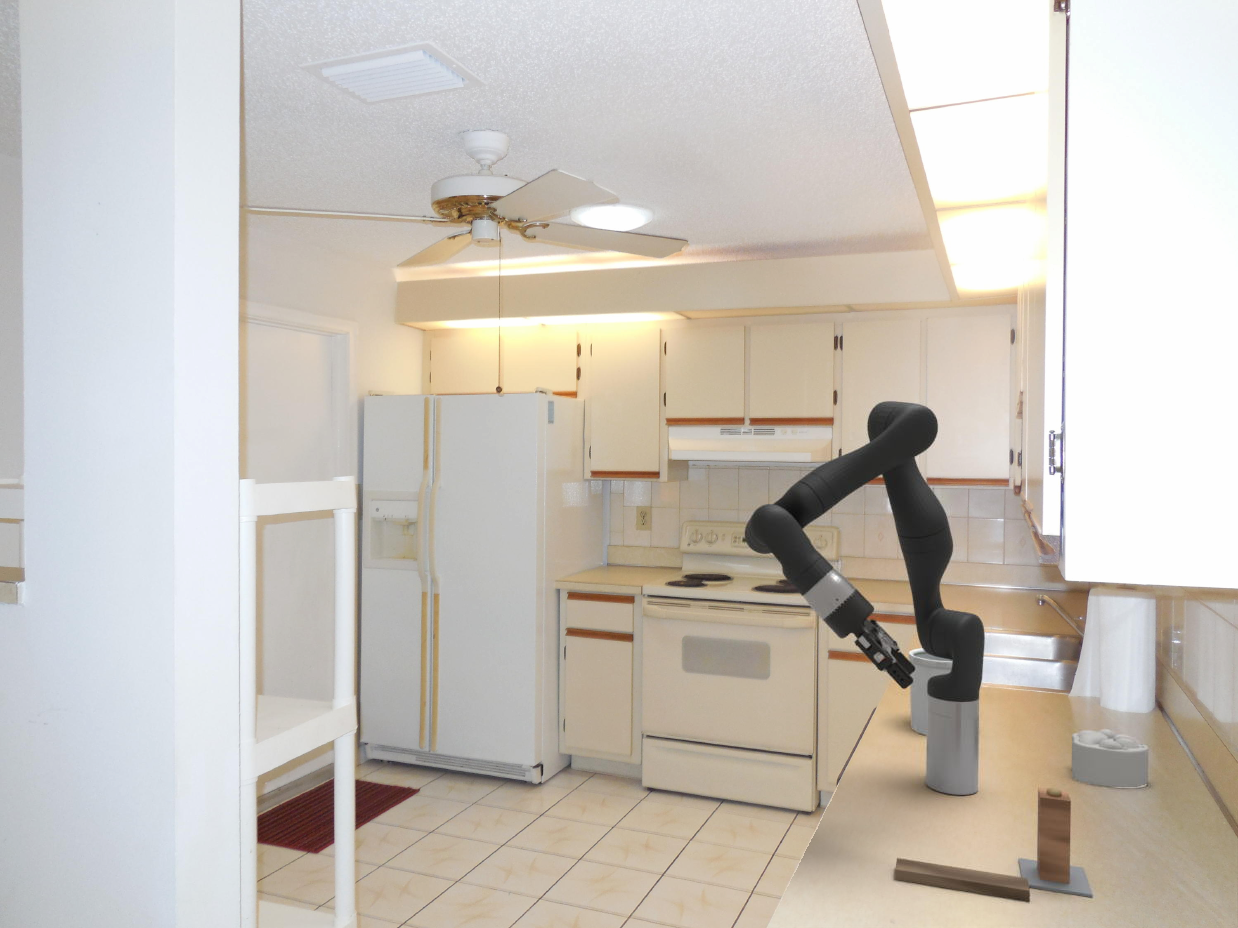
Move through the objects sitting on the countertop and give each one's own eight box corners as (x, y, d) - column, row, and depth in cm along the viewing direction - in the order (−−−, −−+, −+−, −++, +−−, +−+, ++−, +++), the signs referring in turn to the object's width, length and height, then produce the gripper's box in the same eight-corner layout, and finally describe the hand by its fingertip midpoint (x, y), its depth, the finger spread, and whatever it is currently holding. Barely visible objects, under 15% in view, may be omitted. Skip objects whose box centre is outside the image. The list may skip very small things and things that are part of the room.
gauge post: (1037, 866, 135) (1038, 783, 135) (1066, 871, 134) (1067, 787, 134) (1039, 878, 131) (1040, 792, 131) (1069, 883, 130) (1070, 796, 130)
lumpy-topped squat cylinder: (1070, 765, 182) (1071, 722, 182) (1144, 775, 177) (1145, 731, 177) (1073, 782, 173) (1073, 737, 172) (1151, 793, 167) (1152, 746, 167)
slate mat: (1018, 860, 138) (1018, 857, 138) (1083, 869, 135) (1083, 867, 135) (1023, 886, 130) (1023, 883, 130) (1092, 897, 127) (1092, 894, 127)
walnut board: (896, 867, 135) (896, 857, 135) (1027, 888, 129) (1027, 877, 129) (895, 879, 132) (895, 868, 132) (1029, 901, 125) (1029, 890, 125)
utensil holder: (907, 736, 200) (908, 657, 200) (907, 718, 214) (908, 644, 214) (978, 743, 195) (979, 663, 195) (974, 724, 210) (975, 649, 209)
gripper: (850, 593, 139) (927, 673, 136) (858, 581, 153) (929, 654, 149) (815, 625, 141) (890, 705, 137) (826, 610, 155) (895, 683, 151)
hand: (910, 678), depth 143 cm, fingers open, 8 cm apart
